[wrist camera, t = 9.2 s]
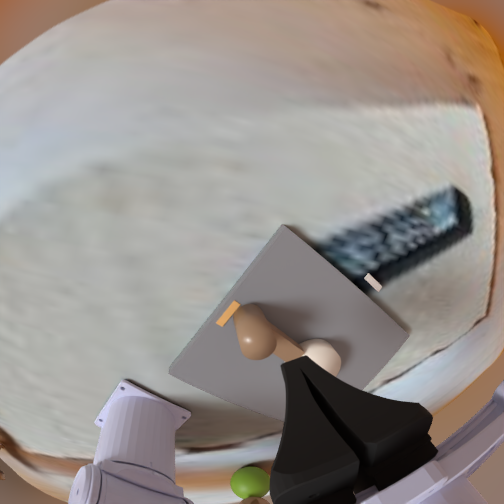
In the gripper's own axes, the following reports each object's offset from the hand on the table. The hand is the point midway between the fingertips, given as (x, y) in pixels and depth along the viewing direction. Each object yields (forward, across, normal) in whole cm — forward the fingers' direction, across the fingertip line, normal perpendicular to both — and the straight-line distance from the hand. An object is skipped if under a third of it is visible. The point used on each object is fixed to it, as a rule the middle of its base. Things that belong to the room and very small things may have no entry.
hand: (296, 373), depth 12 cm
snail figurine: (+11, +8, +26) cm, 30 cm away
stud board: (+10, -3, +8) cm, 13 cm away
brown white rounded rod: (+9, -1, +5) cm, 10 cm away
